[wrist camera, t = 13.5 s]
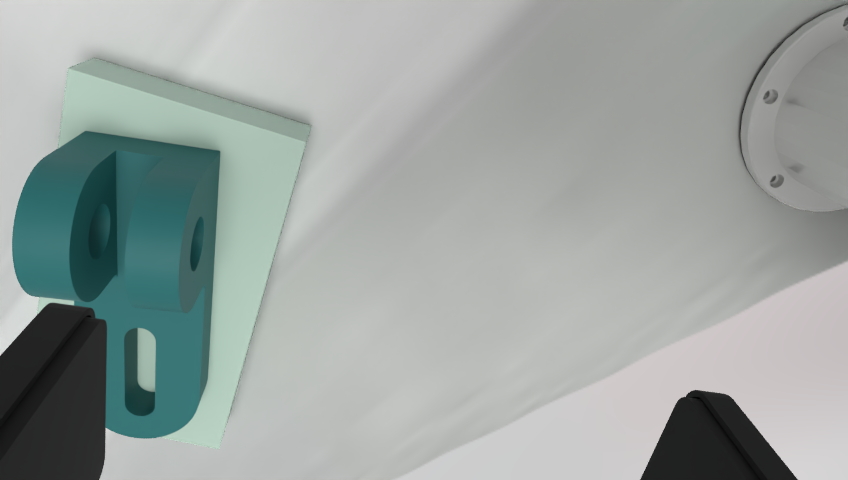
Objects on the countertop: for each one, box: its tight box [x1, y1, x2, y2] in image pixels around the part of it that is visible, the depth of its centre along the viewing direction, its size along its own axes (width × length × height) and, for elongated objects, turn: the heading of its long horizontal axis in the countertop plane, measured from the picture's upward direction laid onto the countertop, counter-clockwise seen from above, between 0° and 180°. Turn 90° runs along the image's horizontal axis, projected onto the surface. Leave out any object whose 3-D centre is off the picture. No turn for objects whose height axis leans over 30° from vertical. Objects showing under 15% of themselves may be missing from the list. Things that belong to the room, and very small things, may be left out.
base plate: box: [37, 58, 311, 449], centre depth 38 cm, size 12×22×4 cm, turn 161°
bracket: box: [12, 131, 220, 438], centre depth 33 cm, size 18×7×8 cm, turn 169°
